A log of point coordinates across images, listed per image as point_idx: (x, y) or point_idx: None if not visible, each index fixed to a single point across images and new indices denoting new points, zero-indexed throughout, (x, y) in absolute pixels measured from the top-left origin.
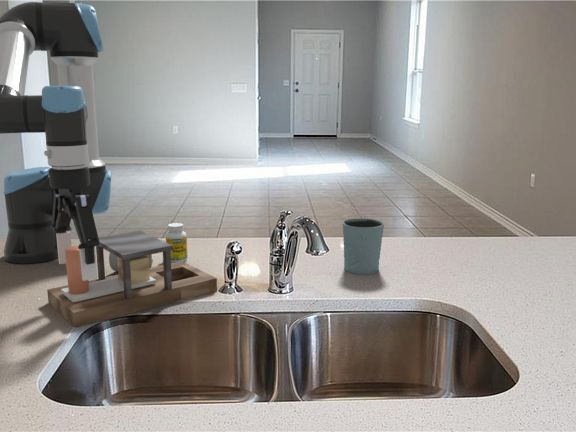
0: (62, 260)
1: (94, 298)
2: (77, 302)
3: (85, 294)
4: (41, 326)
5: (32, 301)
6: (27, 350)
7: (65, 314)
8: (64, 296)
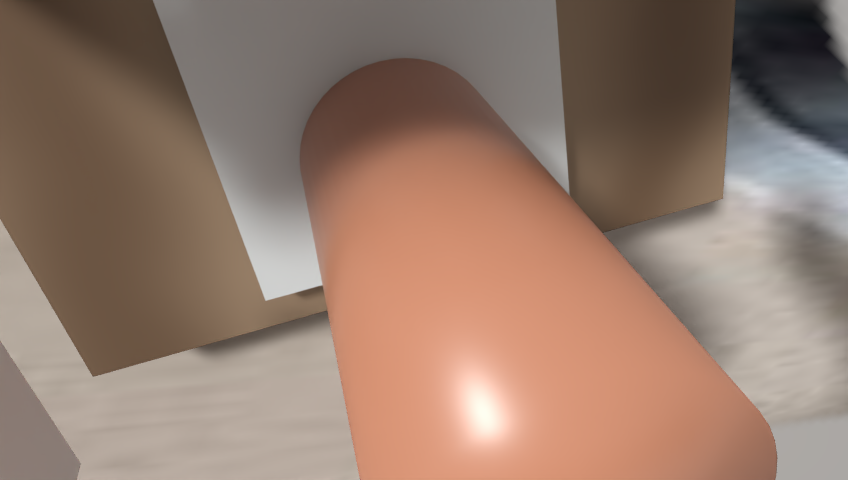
0: (56, 477)
1: None
2: None
3: (529, 108)
4: None
5: (37, 397)
6: (773, 357)
7: None
8: None
